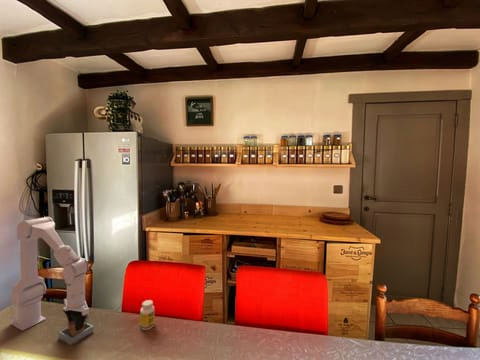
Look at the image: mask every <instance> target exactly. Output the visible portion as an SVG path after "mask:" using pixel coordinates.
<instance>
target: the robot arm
mask: <svg viewBox="0 0 480 360" xmlns="http://www.w3.org/2000/svg"><path fill="white" fill-rule="evenodd" d="M55 228H56V222H54V219H53V218H52V217H50V216H44V217H40V218H33V219H27V220H21V221H20V222H19V223H18V224H17V226H16V236H17V237H16V238H17V239H16V240H17V241H19V257H20V259H19V260H20V279H19V281H17V282H16V283H15V284H14V285H13V286H12V290H11V294H10V302H11V304H12V305H14V306H13V321H11V322H10V325H12V326H14V327H15V328H17V329H18V330H19V331H20V330H21V331H25V330H26V329H29V328H31V327H32V326H35V325H37V324H39V323H42V322H43V321H45V320H46V317H44V316H43V315H42V303H41V302H42V301H41V299H43V298H44V297H43V296H44V295H45V294H46V291H47V286H46V283H45V277H41V276H39V271H38V268H39V267H38V265H39V264H38V263H39V262H38V240H39V239H42V240H43V241H44V242H45V243H46V244H47V245H48V246H49V247H50V248H51V249H52V250H53V251H54V252H53V257H54V258H55V259H56V261H57V262H58V264H59V265H60V266H61V267H62V270H61V272H62V275H63V277H64V282H65V284H66V298H63V304H64V305H65V306H64V307H63V308H62V312H64V314H65V316H66V318H67V321H68V323H70V322H72V321H74V323H75V329H76V331H78V330H80V329H82V328H83V325H84V321H85V322H86V320H85V318H86V316H87V314H88V313H89V314H90V308H89V307H88V304H87V301H86V273H87V272H88V271H89V268H90V266H89V262H88V261H87V259H86V258H83V257H82V256H78V255H77V254H76V252H75V250H73V248H72V247H71V246H70V245H65V243H64V242H63V241H62V239H61V237H60V236H59V234H58V233H57V231H56V230H55Z"/></svg>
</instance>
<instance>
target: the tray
mask: <svg viewBox="0 0 480 360" xmlns="http://www.w3.org/2000/svg"><path fill="white" fill-rule="evenodd" d="M93 333H94V325H92V324H90V323H88V322H87V321H85V330H84V331H82V332H81V333H79V334H77V335H76V336H74V337H70V336H68V326H67V327H66V328H63V329H62V330H60V331H58V340H60V341H62V342H64V343H66V344H68V345H69V346H71V347H72V346H73V345H75V344H76V343H78V342H80V341H82V340H83V339H85V338H86V337H88V336H89V335H91V334H93Z"/></svg>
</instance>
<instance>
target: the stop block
mask: <svg viewBox="0 0 480 360" xmlns="http://www.w3.org/2000/svg"><path fill="white" fill-rule="evenodd" d="M85 322H86V320H85V321H84V325H83V328H82V329H80V330H78V331H76V329H75V323H74V321H72V322H70V323H69V322H68V323H67V327H68V336H70V337H74V336H76V335H77V334H79V333H81V332H82V331H84V330H85Z"/></svg>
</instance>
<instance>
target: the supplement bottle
mask: <svg viewBox="0 0 480 360" xmlns="http://www.w3.org/2000/svg"><path fill="white" fill-rule="evenodd" d="M141 306H142V307H140V312H139V313H140V315H139V327H140V329H141V330H143V331H148V330H150V329H152V328H153V327H154V326H155V306H154V302H153V300H151V299H149V300H148V299H146V300H145V301H143V302H142V304H141Z"/></svg>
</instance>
